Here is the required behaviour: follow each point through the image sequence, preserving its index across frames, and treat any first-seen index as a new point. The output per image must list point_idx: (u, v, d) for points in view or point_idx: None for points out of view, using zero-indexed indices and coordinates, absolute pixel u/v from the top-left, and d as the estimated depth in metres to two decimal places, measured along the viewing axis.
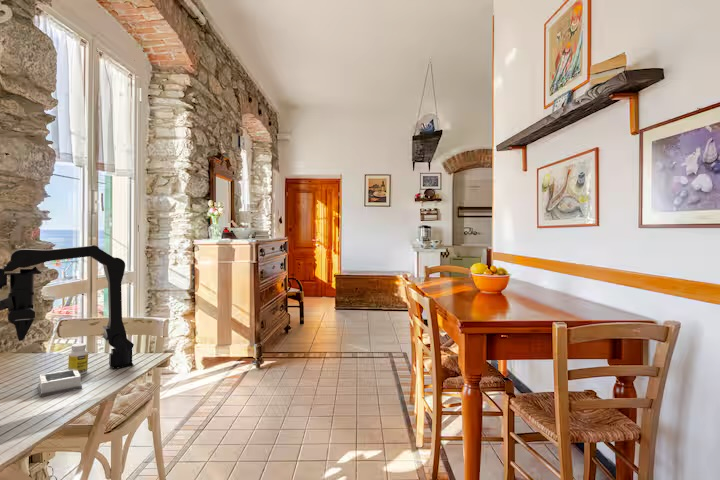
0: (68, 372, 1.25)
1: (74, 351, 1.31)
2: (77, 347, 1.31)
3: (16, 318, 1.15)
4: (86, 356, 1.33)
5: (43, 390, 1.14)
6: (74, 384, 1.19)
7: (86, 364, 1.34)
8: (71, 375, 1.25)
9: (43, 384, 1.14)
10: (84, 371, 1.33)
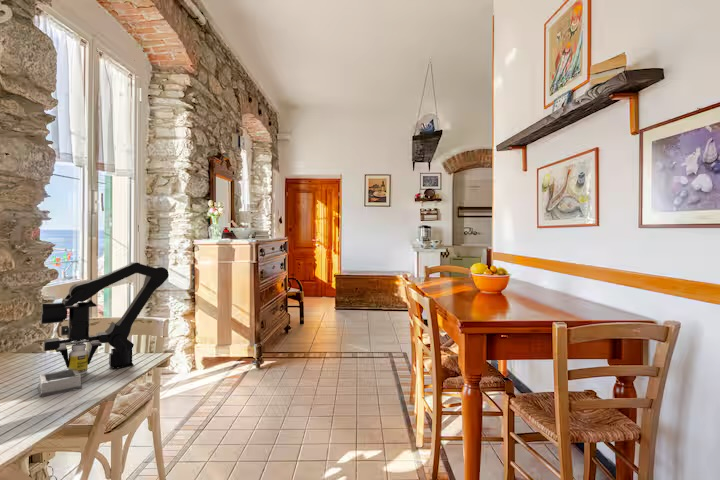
0: (68, 372, 1.25)
1: (74, 351, 1.31)
2: (77, 347, 1.31)
3: (43, 347, 1.28)
4: (86, 356, 1.33)
5: (43, 390, 1.14)
6: (74, 384, 1.19)
7: (86, 364, 1.34)
8: (71, 375, 1.25)
9: (43, 384, 1.14)
10: (84, 371, 1.33)
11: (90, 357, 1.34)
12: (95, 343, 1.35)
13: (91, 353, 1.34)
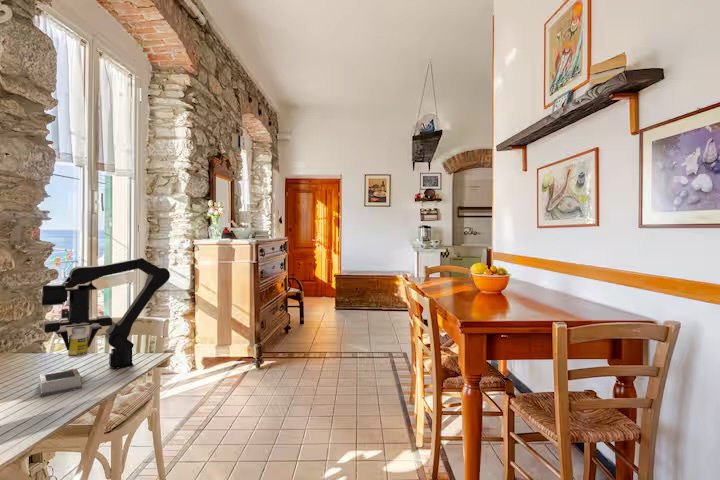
0: (68, 372, 1.25)
1: (74, 334, 1.31)
2: (77, 330, 1.31)
3: (43, 329, 1.28)
4: (86, 339, 1.33)
5: (43, 390, 1.14)
6: (74, 384, 1.19)
7: (86, 347, 1.34)
8: (71, 375, 1.25)
9: (43, 384, 1.14)
10: (84, 354, 1.33)
11: (90, 340, 1.34)
12: (95, 326, 1.35)
13: (91, 336, 1.34)
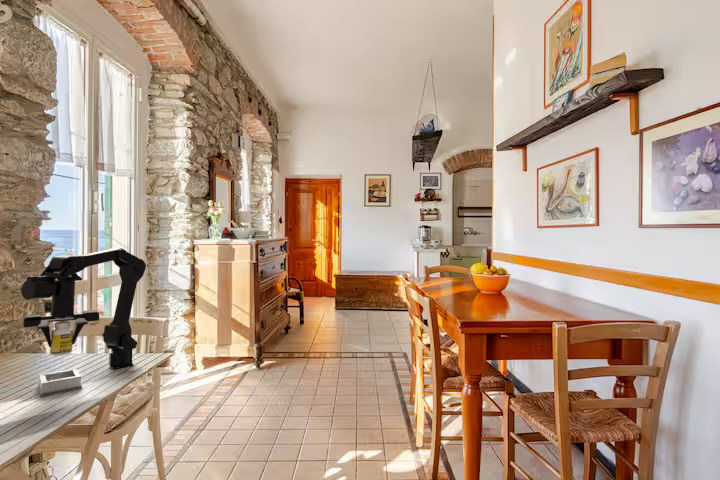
0: (68, 372, 1.25)
1: (57, 329, 1.20)
2: (60, 325, 1.20)
3: None
4: (70, 335, 1.22)
5: (43, 390, 1.14)
6: (74, 384, 1.19)
7: (70, 344, 1.22)
8: (71, 375, 1.25)
9: (43, 384, 1.14)
10: (68, 351, 1.21)
11: (75, 336, 1.22)
12: (81, 321, 1.23)
13: (76, 332, 1.22)
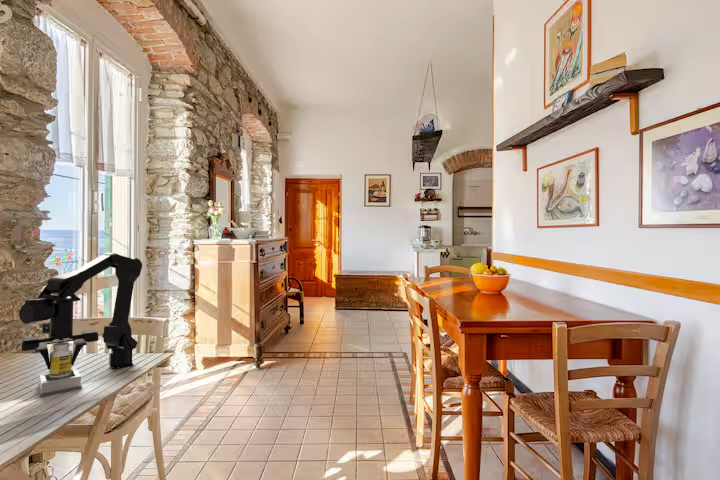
0: None
1: (56, 351, 1.19)
2: (59, 346, 1.19)
3: None
4: (69, 356, 1.21)
5: (43, 390, 1.14)
6: (74, 384, 1.19)
7: (69, 365, 1.21)
8: (71, 375, 1.25)
9: (43, 384, 1.14)
10: (67, 373, 1.20)
11: (74, 357, 1.22)
12: (80, 342, 1.22)
13: (75, 353, 1.21)
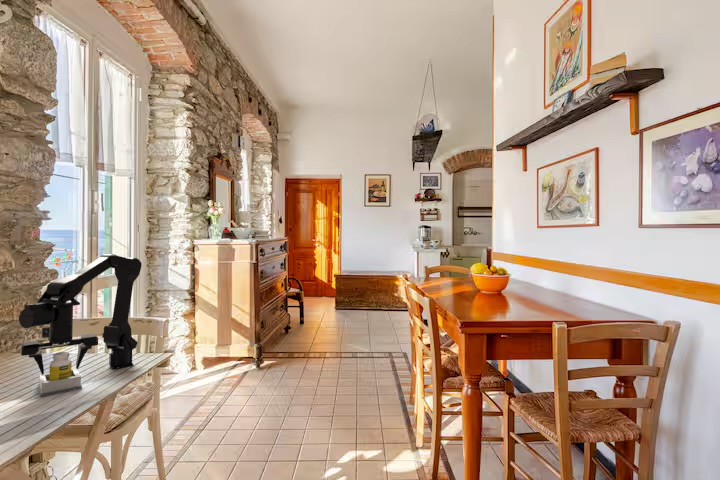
0: None
1: (56, 361, 1.19)
2: (59, 356, 1.19)
3: None
4: (69, 366, 1.21)
5: (43, 390, 1.14)
6: (74, 384, 1.19)
7: (69, 375, 1.21)
8: (71, 375, 1.25)
9: (43, 384, 1.14)
10: None
11: (79, 361, 1.22)
12: (84, 346, 1.23)
13: (80, 357, 1.22)
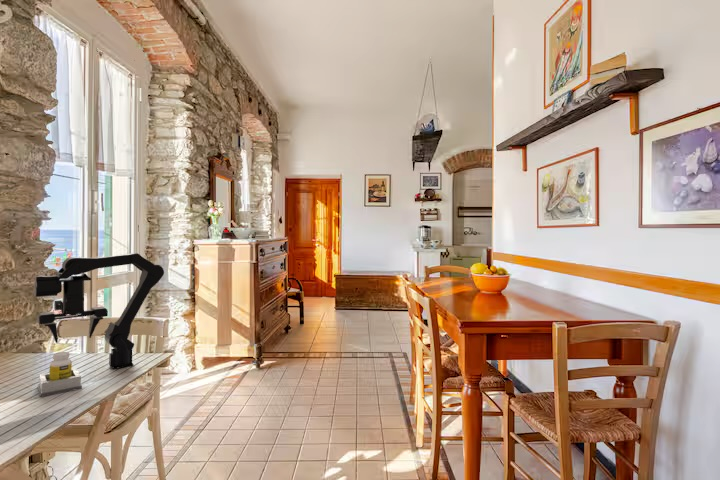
0: None
1: (56, 361, 1.19)
2: (59, 356, 1.19)
3: (37, 320, 1.26)
4: (69, 366, 1.21)
5: (43, 390, 1.14)
6: (74, 384, 1.19)
7: (69, 375, 1.21)
8: (71, 375, 1.25)
9: (43, 384, 1.14)
10: None
11: (92, 330, 1.34)
12: (96, 316, 1.35)
13: (93, 326, 1.34)
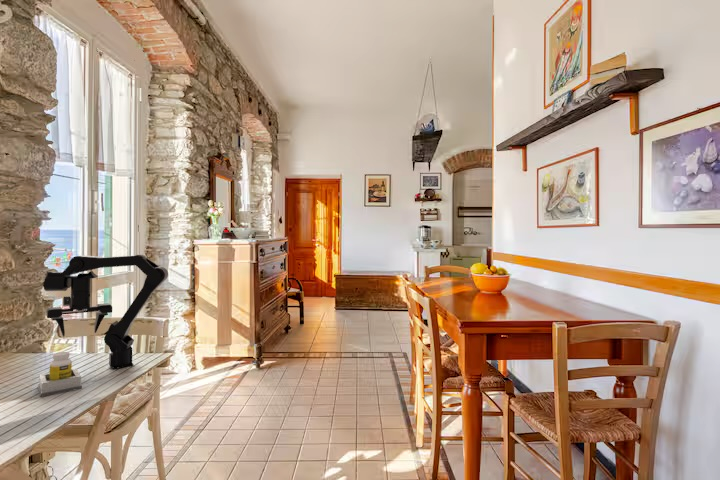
0: None
1: (56, 361, 1.19)
2: (59, 356, 1.19)
3: (46, 315, 1.33)
4: (69, 366, 1.21)
5: (43, 390, 1.14)
6: (74, 384, 1.19)
7: (69, 375, 1.21)
8: (71, 375, 1.25)
9: (43, 384, 1.14)
10: None
11: (97, 326, 1.41)
12: None
13: (98, 322, 1.40)
